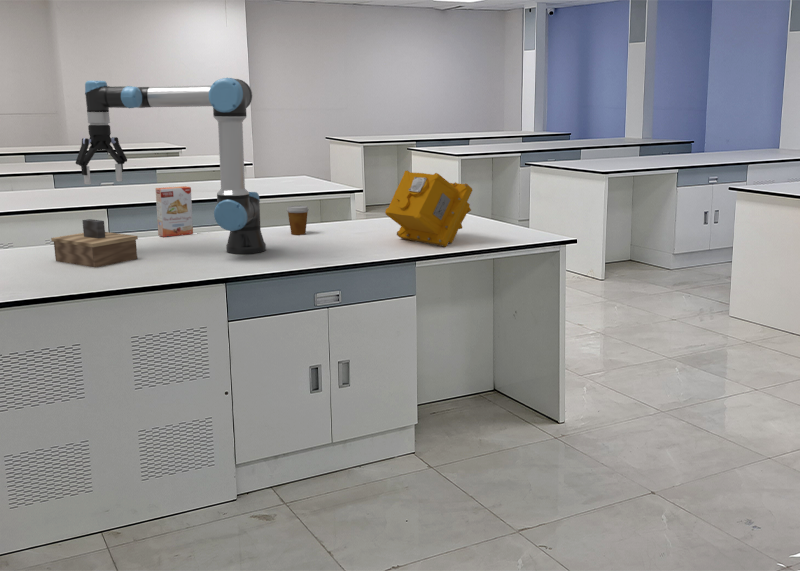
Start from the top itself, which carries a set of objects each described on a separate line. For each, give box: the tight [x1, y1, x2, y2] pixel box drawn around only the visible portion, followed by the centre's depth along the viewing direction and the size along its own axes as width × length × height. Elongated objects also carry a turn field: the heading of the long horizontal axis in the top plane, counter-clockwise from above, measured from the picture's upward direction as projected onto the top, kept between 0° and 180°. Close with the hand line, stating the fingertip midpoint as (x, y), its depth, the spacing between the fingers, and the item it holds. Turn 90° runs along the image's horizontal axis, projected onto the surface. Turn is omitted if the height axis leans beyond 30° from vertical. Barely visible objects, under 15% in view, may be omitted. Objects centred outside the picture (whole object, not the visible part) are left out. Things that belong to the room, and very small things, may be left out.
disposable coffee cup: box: [286, 205, 309, 236], centre depth 341 cm, size 10×10×12 cm
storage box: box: [53, 240, 138, 268], centre depth 281 cm, size 22×18×8 cm
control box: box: [384, 170, 473, 248], centre depth 319 cm, size 27×27×30 cm
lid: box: [50, 218, 139, 247], centre depth 280 cm, size 23×19×8 cm
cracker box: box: [155, 185, 194, 238], centre depth 338 cm, size 14×6×21 cm, turn 130°
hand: (103, 182), depth 288 cm, fingers open, 13 cm apart
